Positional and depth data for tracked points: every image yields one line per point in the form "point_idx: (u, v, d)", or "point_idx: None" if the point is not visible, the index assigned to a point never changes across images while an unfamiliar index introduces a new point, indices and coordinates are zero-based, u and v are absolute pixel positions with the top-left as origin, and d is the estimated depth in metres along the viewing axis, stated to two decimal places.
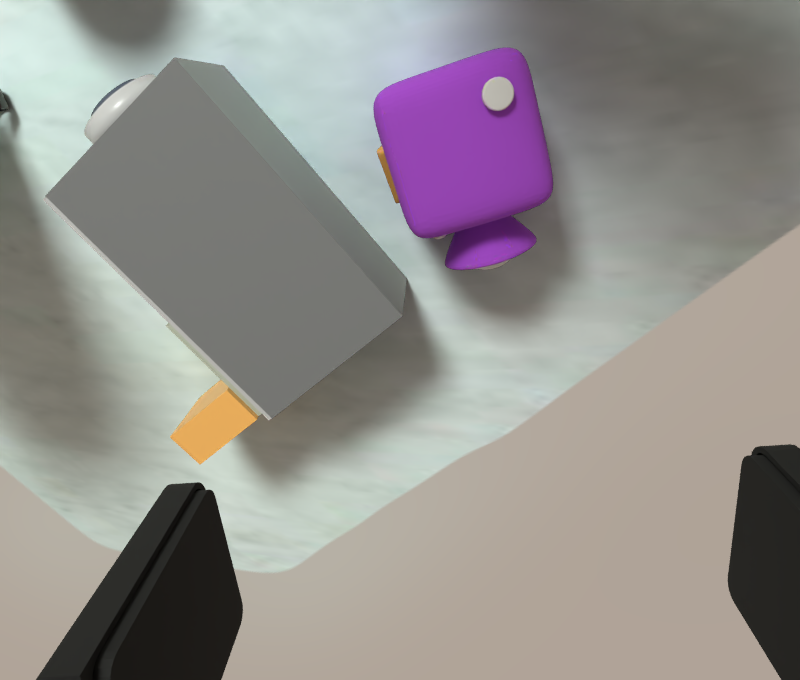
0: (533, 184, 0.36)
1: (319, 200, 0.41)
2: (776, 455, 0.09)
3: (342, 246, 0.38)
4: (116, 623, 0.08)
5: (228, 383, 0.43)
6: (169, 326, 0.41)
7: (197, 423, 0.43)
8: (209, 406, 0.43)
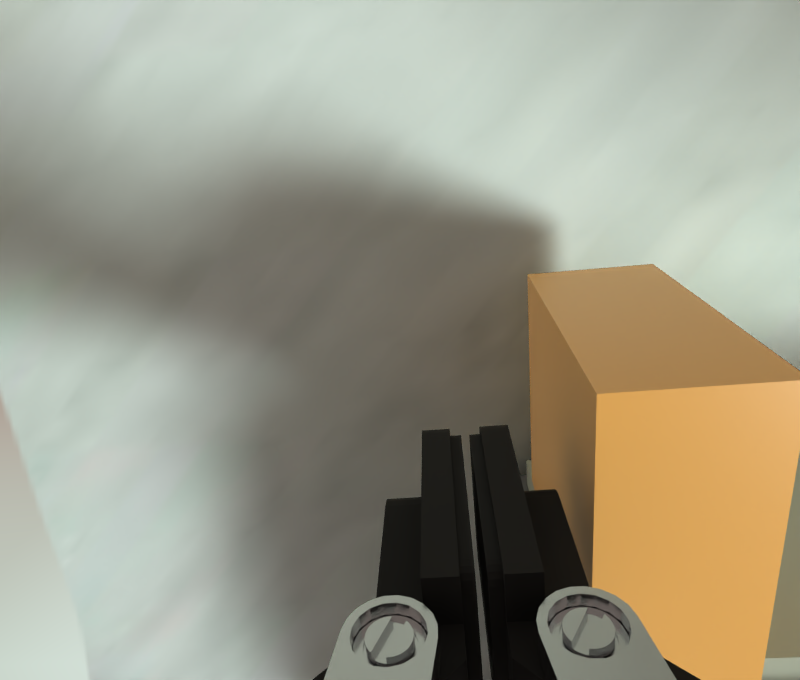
0: None
1: None
2: (487, 434, 0.11)
3: None
4: (457, 538, 0.08)
5: None
6: None
7: (754, 520, 0.10)
8: (767, 604, 0.10)
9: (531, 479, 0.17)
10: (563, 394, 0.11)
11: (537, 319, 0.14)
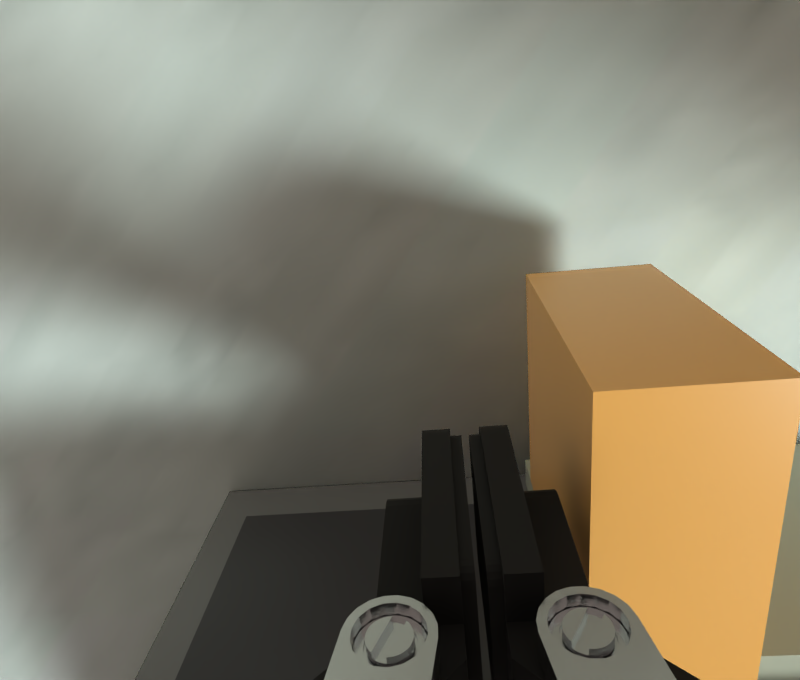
0: None
1: None
2: (486, 434, 0.11)
3: None
4: (457, 538, 0.08)
5: None
6: None
7: (750, 518, 0.10)
8: (763, 601, 0.10)
9: (530, 478, 0.17)
10: (560, 393, 0.11)
11: (535, 318, 0.14)
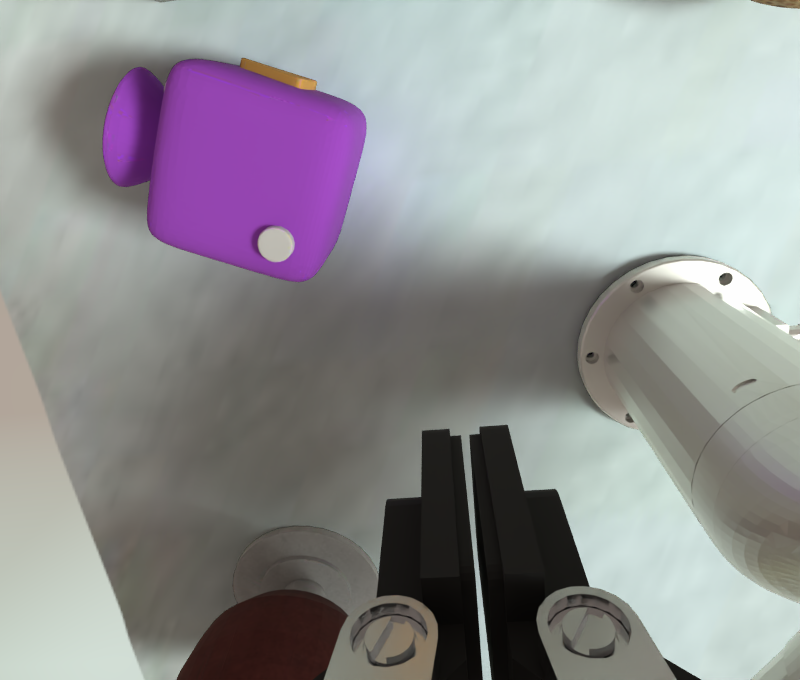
0: (168, 225, 0.30)
1: None
2: (487, 433, 0.11)
3: None
4: (457, 538, 0.08)
5: None
6: None
7: None
8: None
9: None
10: None
11: None
